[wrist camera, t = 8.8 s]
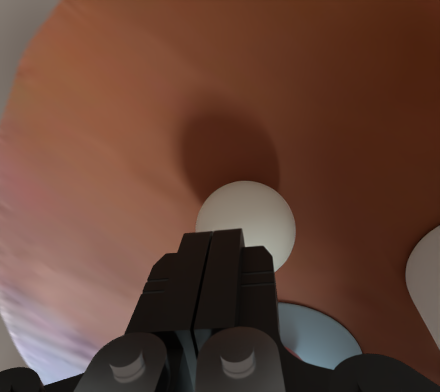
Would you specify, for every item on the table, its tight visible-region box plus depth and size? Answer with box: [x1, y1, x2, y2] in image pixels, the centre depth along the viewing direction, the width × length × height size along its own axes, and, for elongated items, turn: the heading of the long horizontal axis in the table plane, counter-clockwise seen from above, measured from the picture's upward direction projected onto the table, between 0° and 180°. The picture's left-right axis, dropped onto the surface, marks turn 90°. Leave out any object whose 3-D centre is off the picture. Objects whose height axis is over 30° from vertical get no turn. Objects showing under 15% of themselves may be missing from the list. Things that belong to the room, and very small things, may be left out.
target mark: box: [278, 302, 362, 370], centre depth 30 cm, size 14×14×1 cm
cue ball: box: [196, 181, 296, 272], centre depth 21 cm, size 6×6×6 cm
